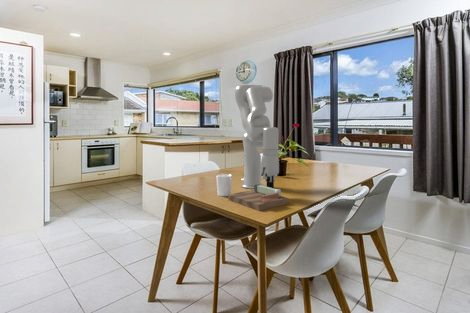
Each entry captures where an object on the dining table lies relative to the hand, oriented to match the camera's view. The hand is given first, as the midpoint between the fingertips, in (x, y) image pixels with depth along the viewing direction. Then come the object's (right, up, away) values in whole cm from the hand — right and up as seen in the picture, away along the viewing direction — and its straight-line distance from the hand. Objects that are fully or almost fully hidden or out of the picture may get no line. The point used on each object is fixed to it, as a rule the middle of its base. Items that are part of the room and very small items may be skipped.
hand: (270, 189), depth 141 cm
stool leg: (-2, -1, -5) cm, 6 cm away
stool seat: (-7, -5, -8) cm, 12 cm away
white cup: (-23, -4, +5) cm, 24 cm away
